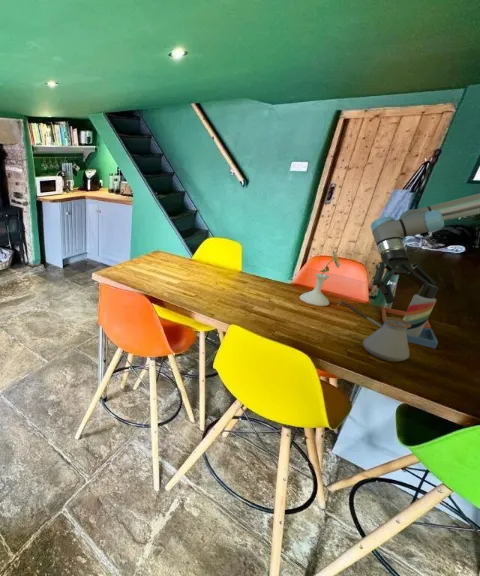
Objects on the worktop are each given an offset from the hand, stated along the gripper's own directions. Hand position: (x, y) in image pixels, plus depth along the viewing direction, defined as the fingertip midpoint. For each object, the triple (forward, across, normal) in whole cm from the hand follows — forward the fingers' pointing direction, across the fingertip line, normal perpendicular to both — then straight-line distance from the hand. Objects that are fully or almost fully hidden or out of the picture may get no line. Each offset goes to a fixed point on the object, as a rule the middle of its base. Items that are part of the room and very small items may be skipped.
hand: (410, 303), depth 111 cm
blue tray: (+11, 0, -6) cm, 12 cm away
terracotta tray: (+2, -7, -14) cm, 16 cm away
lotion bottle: (+11, 0, -6) cm, 12 cm away
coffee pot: (+19, +23, +2) cm, 30 cm away
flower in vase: (-9, +18, -26) cm, 32 cm away
